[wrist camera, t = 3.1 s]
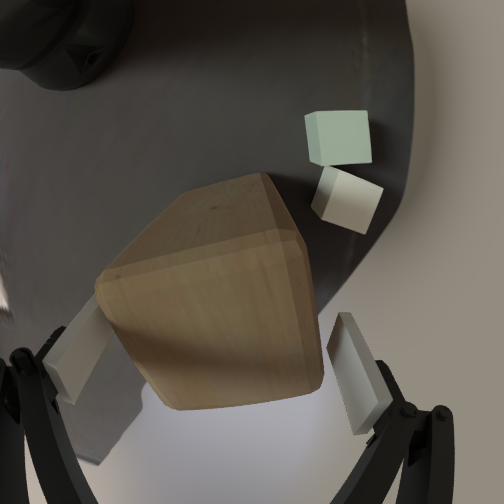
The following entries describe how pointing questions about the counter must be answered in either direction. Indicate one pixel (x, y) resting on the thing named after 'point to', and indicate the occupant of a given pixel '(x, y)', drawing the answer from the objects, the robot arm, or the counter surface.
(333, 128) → the cube sage
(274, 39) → the counter surface
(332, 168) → the cube cream
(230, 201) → the wooden block
